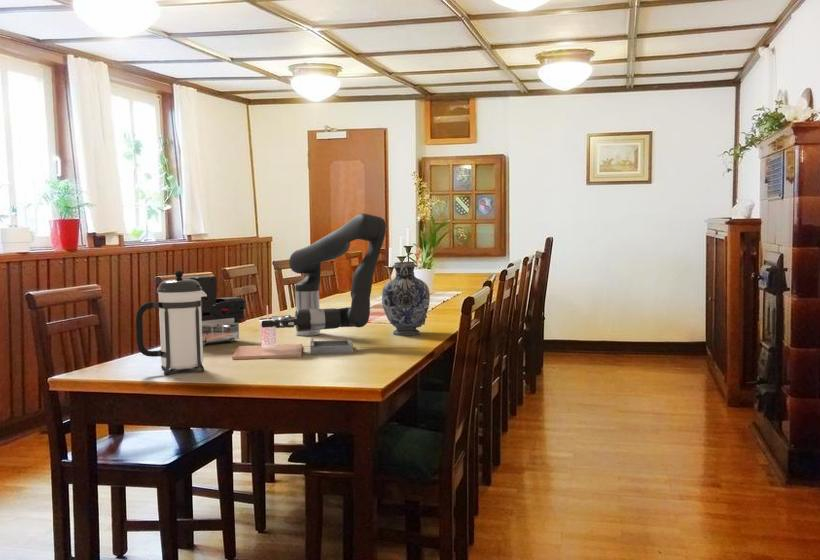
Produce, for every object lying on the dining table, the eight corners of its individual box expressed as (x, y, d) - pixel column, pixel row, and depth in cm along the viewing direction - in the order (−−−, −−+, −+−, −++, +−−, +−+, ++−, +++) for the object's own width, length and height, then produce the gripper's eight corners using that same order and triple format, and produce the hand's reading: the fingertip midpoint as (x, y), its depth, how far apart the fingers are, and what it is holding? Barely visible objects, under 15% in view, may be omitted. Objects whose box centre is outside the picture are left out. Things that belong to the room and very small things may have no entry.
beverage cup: (261, 348, 258) (259, 306, 257) (258, 346, 264) (256, 305, 263) (279, 347, 261) (278, 305, 260) (275, 344, 266) (274, 304, 265)
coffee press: (179, 364, 243) (175, 268, 241) (218, 368, 236) (215, 269, 233) (136, 374, 228) (132, 272, 225) (177, 378, 220) (173, 272, 218)
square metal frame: (310, 348, 271) (310, 337, 271) (350, 346, 273) (350, 336, 272) (310, 354, 257) (310, 343, 257) (352, 353, 259) (352, 342, 259)
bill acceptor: (247, 341, 290) (245, 274, 288) (188, 348, 275) (185, 278, 273) (234, 338, 298) (232, 273, 296) (176, 345, 283) (174, 276, 281)
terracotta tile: (238, 349, 272) (238, 346, 272) (302, 346, 275) (302, 343, 275) (232, 359, 250) (232, 356, 250) (301, 357, 253) (301, 354, 253)
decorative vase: (430, 337, 292) (428, 262, 290) (381, 338, 293) (378, 264, 291) (431, 329, 313) (429, 260, 312) (385, 330, 314) (382, 261, 312)
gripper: (306, 306, 272) (257, 309, 267) (313, 311, 259) (262, 314, 254) (307, 328, 273) (258, 331, 268) (314, 333, 259) (263, 336, 254)
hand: (260, 322), depth 261 cm, fingers closed on beverage cup, 6 cm apart
